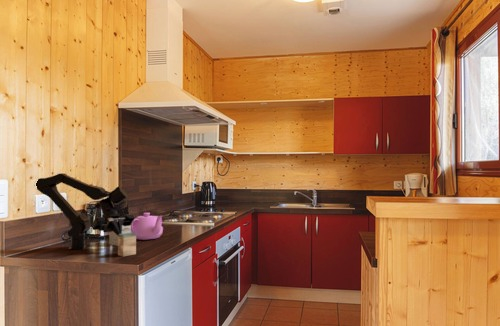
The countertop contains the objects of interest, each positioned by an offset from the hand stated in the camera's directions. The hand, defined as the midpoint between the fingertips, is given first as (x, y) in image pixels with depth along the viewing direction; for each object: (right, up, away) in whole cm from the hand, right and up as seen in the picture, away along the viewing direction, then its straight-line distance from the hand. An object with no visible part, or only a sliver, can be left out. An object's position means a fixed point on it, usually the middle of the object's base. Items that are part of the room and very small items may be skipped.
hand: (120, 236), depth 163 cm
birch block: (+4, -7, -4) cm, 9 cm away
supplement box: (-7, -8, +18) cm, 21 cm away
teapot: (+3, -8, +33) cm, 35 cm away
